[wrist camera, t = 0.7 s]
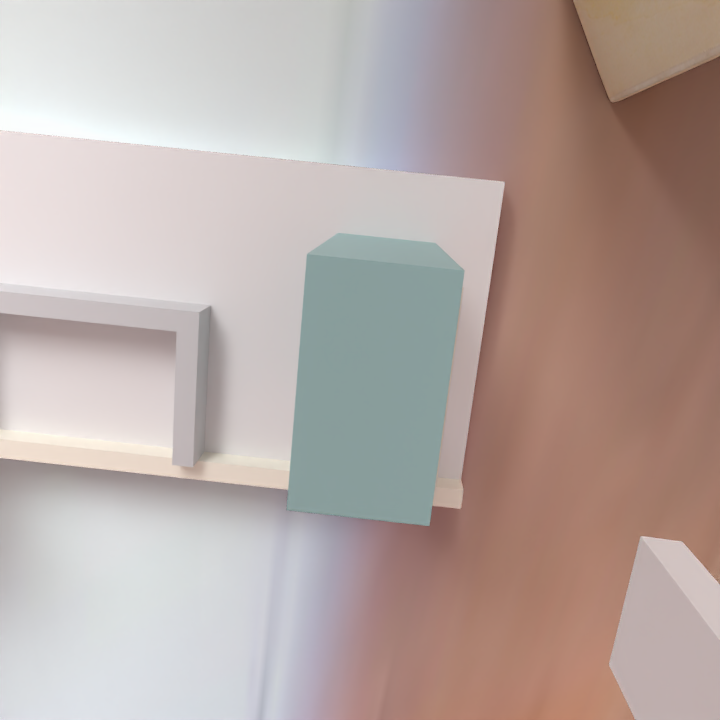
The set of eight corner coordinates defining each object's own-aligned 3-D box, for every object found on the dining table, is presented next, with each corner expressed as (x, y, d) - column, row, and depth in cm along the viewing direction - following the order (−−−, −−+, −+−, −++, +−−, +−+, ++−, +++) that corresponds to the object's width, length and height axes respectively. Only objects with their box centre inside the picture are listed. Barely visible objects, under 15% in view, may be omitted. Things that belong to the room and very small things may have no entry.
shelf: (-249, 106, 32) (-326, 95, 28) (499, 182, 31) (513, 180, 28) (-212, 420, 35) (-276, 444, 32) (454, 494, 35) (461, 526, 31)
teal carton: (320, 397, 32) (282, 509, 21) (335, 232, 30) (302, 253, 19) (417, 408, 32) (433, 526, 21) (438, 243, 30) (469, 270, 19)
